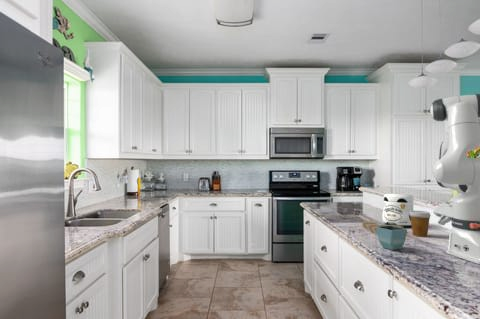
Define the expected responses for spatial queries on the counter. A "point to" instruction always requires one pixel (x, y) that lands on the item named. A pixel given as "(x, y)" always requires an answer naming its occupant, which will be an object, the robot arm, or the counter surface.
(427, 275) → the counter surface
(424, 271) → the counter surface
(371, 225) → the walnut T block
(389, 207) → the milk container
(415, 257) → the counter surface
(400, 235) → the flower pot
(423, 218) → the disposable coffee cup
